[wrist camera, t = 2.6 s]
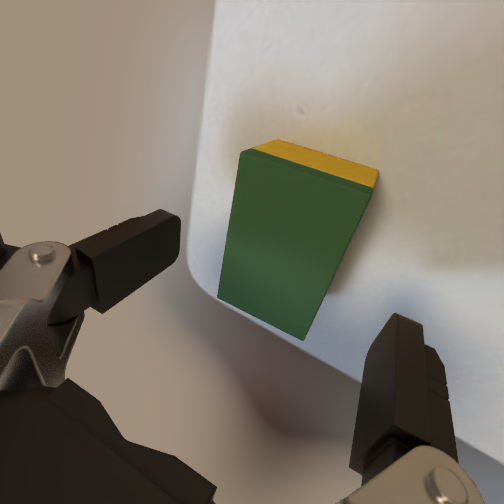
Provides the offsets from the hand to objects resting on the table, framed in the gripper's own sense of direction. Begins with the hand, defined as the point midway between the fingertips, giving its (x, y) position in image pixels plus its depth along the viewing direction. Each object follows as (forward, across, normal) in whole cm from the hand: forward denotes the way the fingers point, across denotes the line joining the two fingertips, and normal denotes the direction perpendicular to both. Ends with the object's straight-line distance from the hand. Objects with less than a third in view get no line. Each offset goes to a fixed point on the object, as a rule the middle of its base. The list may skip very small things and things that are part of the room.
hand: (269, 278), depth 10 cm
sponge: (+5, 0, 0) cm, 5 cm away
